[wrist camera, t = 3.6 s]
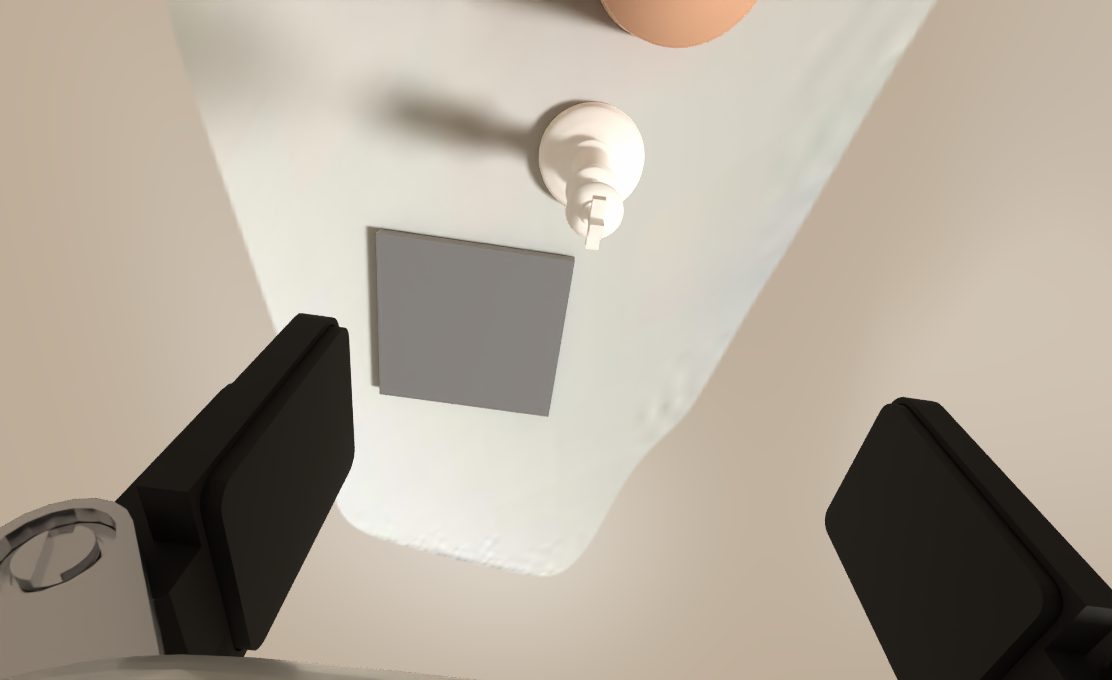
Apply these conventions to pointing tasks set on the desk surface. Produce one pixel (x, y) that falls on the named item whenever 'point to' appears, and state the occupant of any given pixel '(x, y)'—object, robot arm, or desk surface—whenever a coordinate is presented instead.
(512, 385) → the coaster
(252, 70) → the desk surface
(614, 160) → the chess piece
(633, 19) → the peach rounded dome
